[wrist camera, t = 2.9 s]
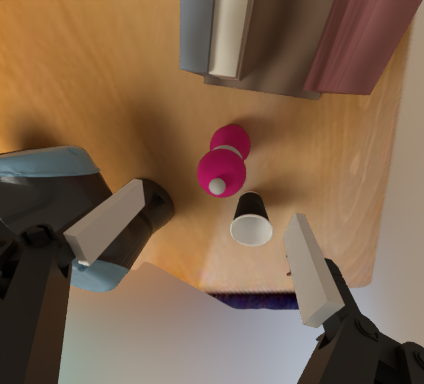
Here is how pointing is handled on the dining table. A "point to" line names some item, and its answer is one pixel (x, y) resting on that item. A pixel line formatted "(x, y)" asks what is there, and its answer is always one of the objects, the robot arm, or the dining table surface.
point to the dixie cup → (251, 221)
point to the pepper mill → (225, 162)
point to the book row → (292, 43)
